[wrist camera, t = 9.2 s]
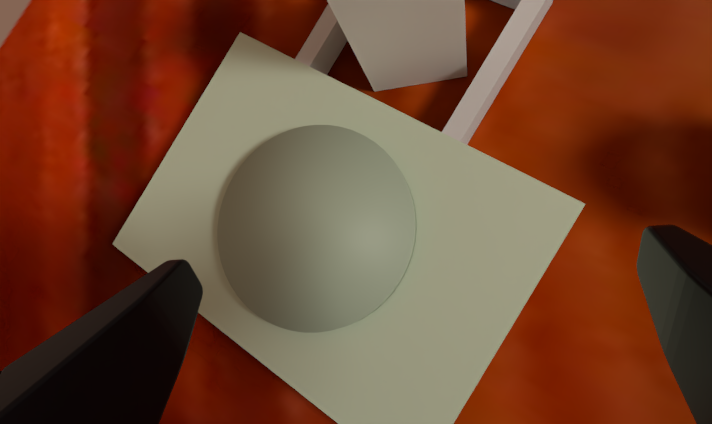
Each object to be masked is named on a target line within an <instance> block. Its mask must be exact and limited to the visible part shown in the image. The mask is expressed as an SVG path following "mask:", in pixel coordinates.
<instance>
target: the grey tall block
mask: <svg viewBox="0 0 712 424" xmlns="http://www.w3.org/2000/svg"><path fill="white" fill-rule="evenodd" d="M327 2H328V3H329V5H330V7H331V9H332V11H333V13H334V15H335V17H336V19H337V21H338V23H339V25H340V27H341V28H342V30H343V32H344V34H345V36H346V38H347V40H348V42H349V44H350V46H351V48H352V50H353V52H354V53H355V55H356V57H357V59H358V61H359V63H360V65H361V67H362V69H363V71H364V73H365V75H366V76H367V78H368V80H369V82H370V84H371V86H372V88H373V90H374V92H375V91H381V90H387V89H393V88H399V87H405V86H411V85H418V84H424V83H430V82H436V81H442V80H448V79H454V78H460V77H467V57H466V28H465V0H327Z"/></svg>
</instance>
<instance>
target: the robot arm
mask: <svg viewBox="0 0 712 424" xmlns="http://www.w3.org/2000/svg"><path fill="white" fill-rule="evenodd" d="M637 272H638V276H639V279H640V282H641V285H642V288H643V291H644V294H645V297H646V301H647V304H648V307H649V310H650V313H651V316H652V319H653V322H654V325H655V328H656V331H657V334H658V337H659V340H660V343H661V346H662V349H663V352H664V354H665V357H666V359H667V361H668V363H669V366H670V368H671V370H672V372H673V374H674V377H675V379H676V381H677V383H678V385H679V387H680V389H681V391H682V393H683V396H684V398H685V400H686V402H687V404H688V406H689V408H690V410H691V413H692V415H693V417H694V419H695V421H696V423H697V424H712V245H711V244H709V243H707V242H705V241H703V240H701V239H700V238H698V237H696V236H694V235H692V234H690V233H689V232H687V231H685V230H683V229H681V228H679V227H677V226H675V225H656V226H648V227H646V228H645V229H644V231H643V234H642V238H641V244H640V249H639V254H638V260H637ZM202 296H203V288H202V285H201V283H200V281H199V279H198V277H197V276H196V274H195V272H194V270H193V269H192V267H191V265H190V264H189V262H188V261H186V260H184V259H177V260H168V261H166V262H164V263H162V264H161V265H159V266H158V267H156V268H155V269H153V270H152V271H150V272H149V273H147V274H146V275H144V276H143V277H141V278H140V279H138V280H137V281H135V282H134V283H132V284H131V285H129V286H128V287H126V288H125V289H123V290H122V291H120V292H118V293H117V294H115V295H114V296H112V297H111V298H109V299H108V300H106V301H105V302H103V303H102V304H100V305H99V306H97V307H96V308H94V309H93V310H91V311H90V312H88V313H87V314H85V315H84V316H82V317H81V318H79V319H78V320H76V321H75V322H73V323H72V324H70V325H69V326H67V327H66V328H64V329H63V330H61V331H59V332H58V333H56V334H55V335H53V336H52V337H50V338H49V339H47V340H46V341H44V342H43V343H41V344H40V345H38V346H37V347H35V348H34V349H32V350H31V351H29V352H28V353H26V354H25V355H23V356H22V357H20V358H19V359H17V360H16V361H14V362H13V363H11V364H10V365H8V366H7V367H5V368H4V369H3V371H0V424H159V422H160V419H161V417H162V414H163V412H164V409H165V407H166V404H167V402H168V399H169V396H170V394H171V391H172V389H173V386H174V384H175V381H176V379H177V376H178V374H179V371H180V369H181V366H182V363H183V361H184V358H185V355H186V352H187V348H188V345H189V342H190V338H191V335H192V331H193V328H194V324H195V321H196V317H197V314H198V310H199V307H200V303H201V300H202Z"/></svg>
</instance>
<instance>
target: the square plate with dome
mask: <svg viewBox="0 0 712 424" xmlns="http://www.w3.org/2000/svg"><path fill="white" fill-rule="evenodd" d="M491 1H494V2H496V3H499V4H501V5H504V6H507V7H509V8H512V9H515V11H514V13H513V15H512V16H511V18H510V20H509V21H508V23H507V25H506V26H505V28H504V30H503V31H502V33H501V35H500V36H499V38H498V40H497V41H496V43H495V45H494V46H493V48H492V49H491V51H490V53H489V54H488V56H487V58H486V59H485V61H484V63H483V64H482V66H481V68H480V69H479V71H478V73H477V74H476V76H475V78H474V79H473V81H472V83H471V84H470V86H469V88H468V89H467V91H466V93H465V94H464V96H463V98H462V99H461V101H460V103H459V104H458V106H457V108H456V109H455V111H454V113H453V114H452V116H451V118H450V119H449V121H448V123H447V124H446V126H445V128H444V129H443V131H442V132H440V131H438V130H436V129H434V128H432V127H430V126H428V125H426V124H424V123H422V122H420V121H418V120H416V119H414V118H412V117H410V116H408V115H406V114H404V113H402V112H400V111H398V110H396V109H394V108H392V107H390V106H388V105H386V104H384V103H382V102H380V101H378V100H376V99H374V98H372V97H370V96H368V95H366V94H364V93H362V92H360V91H358V90H356V89H354V88H352V87H350V86H348V85H346V84H344V83H342V82H340V81H337V80H335V79H333V78H331V77H329V76H327V74H328V72H329V71H330V69H331V67H332V66H333V64H334V62H335V61H336V59H337V57H338V56H339V54H340V52H341V51H342V49H343V47H344V46H345V44H346V42H347V41H348V40H347V38H346V36H345V34H344V32H343V30H342V28H341V27H340V25H339V23H338V21H337V19H336V17H335V15H334V13H333V11H332V9H331V7H330V5H329V3H328V5H327V7H326V8H325V10H324V12H323V13H322V15H321V17H320V18H319V20H318V22H317V23H316V25H315V27H314V28H313V30H312V32H311V33H310V35H309V37H308V38H307V40H306V42H305V43H304V45H303V47H302V48H301V50H300V52H299V53H298V55H297V57H296V58H295V59H293V58H291V57H289V56H287V55H285V54H283V53H281V52H279V51H277V50H275V49H273V48H271V47H269V46H267V45H265V44H263V43H261V42H259V41H257V40H255V39H253V38H251V37H249V36H247V35H245V34H243V33H241V32H240V33H239V35H238V36H237V38H236V40H235V41H234V43H233V45H232V46H231V48H230V50H229V51H228V53H227V55H226V56H225V58H224V60H223V61H222V63H221V64H220V66H219V68H218V69H217V71H216V73H215V74H214V76H213V78H212V79H211V81H210V83H209V84H208V86H207V88H206V89H205V91H204V93H203V94H202V96H201V98H200V99H199V101H198V103H197V104H196V106H195V108H194V109H193V111H192V113H191V114H190V116H189V118H188V119H187V121H186V123H185V124H184V126H183V128H182V129H181V131H180V133H179V134H178V136H177V137H176V139H175V141H174V142H173V144H172V146H171V147H170V149H169V151H168V152H167V154H166V156H165V157H164V159H163V161H162V162H161V164H160V166H159V167H158V169H157V171H156V172H155V174H154V176H153V177H152V179H151V181H150V182H149V184H148V186H147V187H146V189H145V191H144V192H143V194H142V196H141V197H140V199H139V201H138V202H137V204H136V206H135V207H134V209H133V210H132V212H131V214H130V215H129V217H128V219H127V220H126V222H125V224H124V225H123V227H122V229H121V230H120V232H119V234H118V235H117V237H116V239H115V240H114V242H113V245H114V246H115V247H116V248H118V249H119V250H120V251H121V252H123V253H124V254H125V255H126V256H128V257H129V258H130V259H131V260H133V261H134V262H135V263H136V264H138V265H139V266H140V267H142V268H143V269H144V270H145V271H147V272H148V273H149V272H150V271H152V270H153V269H155V268H156V267H158V266H159V265H161V264H162V263H164V262H166V261H168V260H177V259H184V260H186V261H188V262H189V264H190V265H191V267H192V269H193V270H194V272H195V274H196V276H197V277H198V279H199V281H200V283H201V285H202V288H203V296H202V300H201V303H200V307H199V310H198V313H199V314H201V315H202V316H203V317H204V318H206V319H207V320H208V321H209V322H211V323H212V324H213V325H215V326H216V327H217V328H218V329H220V330H221V331H222V332H223V333H225V334H226V335H227V336H228V337H230V338H231V339H232V340H233V341H235V342H236V343H237V344H238V345H240V346H241V347H242V348H243V349H245V350H246V351H247V352H249V353H250V354H251V355H252V356H254V357H255V358H256V359H257V360H259V361H260V362H261V363H262V364H264V365H265V366H266V367H267V368H269V369H270V370H271V371H272V372H274V373H275V374H276V375H277V376H279V377H280V378H281V379H282V380H284V381H285V382H286V383H288V384H289V385H290V386H291V387H293V388H294V389H295V390H296V391H298V392H299V393H300V394H301V395H303V396H304V397H305V398H306V399H308V400H309V401H310V402H311V403H313V404H314V405H315V406H316V407H318V408H319V409H320V410H322V411H323V412H324V413H325V414H327V415H328V416H329V417H330V418H332V419H333V420H334V421H335V422H337V423H338V424H453V423H454V422H455V420H456V418H457V417H458V415H459V413H460V412H461V410H462V408H463V407H464V405H465V403H466V402H467V400H468V398H469V397H470V395H471V393H472V392H473V390H474V388H475V387H476V385H477V383H478V382H479V380H480V378H481V377H482V375H483V373H484V372H485V370H486V368H487V367H488V365H489V363H490V362H491V360H492V359H493V357H494V355H495V354H496V352H497V350H498V349H499V347H500V345H501V344H502V342H503V340H504V339H505V337H506V335H507V334H508V332H509V330H510V329H511V327H512V325H513V324H514V322H515V320H516V319H517V317H518V315H519V314H520V312H521V310H522V309H523V307H524V305H525V304H526V302H527V300H528V299H529V297H530V295H531V294H532V292H533V290H534V289H535V287H536V285H537V284H538V282H539V280H540V279H541V277H542V275H543V274H544V272H545V270H546V269H547V267H548V265H549V264H550V262H551V261H552V259H553V257H554V256H555V254H556V252H557V251H558V249H559V247H560V246H561V244H562V242H563V241H564V239H565V237H566V236H567V234H568V232H569V231H570V229H571V227H572V226H573V224H574V222H575V221H576V219H577V217H578V216H579V214H580V212H581V211H582V209H583V207H584V206H585V204H584V203H582V202H580V201H578V200H576V199H574V198H572V197H570V196H568V195H566V194H564V193H562V192H560V191H558V190H556V189H554V188H552V187H550V186H548V185H546V184H544V183H542V182H540V181H538V180H536V179H534V178H532V177H530V176H528V175H526V174H524V173H522V172H520V171H518V170H516V169H514V168H512V167H510V166H508V165H506V164H504V163H502V162H500V161H498V160H496V159H494V158H492V157H490V156H488V155H486V154H484V153H482V152H480V151H478V150H476V149H474V148H472V147H470V146H468V145H467V144H468V142H469V141H470V139H471V137H472V136H473V134H474V132H475V131H476V129H477V127H478V126H479V124H480V122H481V121H482V119H483V117H484V116H485V114H486V112H487V111H488V109H489V107H490V106H491V104H492V102H493V101H494V99H495V97H496V96H497V94H498V92H499V91H500V89H501V87H502V86H503V84H504V82H505V81H506V79H507V77H508V76H509V74H510V72H511V71H512V69H513V67H514V66H515V64H516V63H517V61H518V59H519V58H520V56H521V54H522V53H523V51H524V49H525V48H526V46H527V44H528V43H529V41H530V39H531V38H532V36H533V34H534V33H535V31H536V29H537V28H538V26H539V24H540V23H541V21H542V19H543V18H544V16H545V14H546V13H547V11H548V9H549V8H550V6H551V4H552V2H553V0H491Z"/></svg>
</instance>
